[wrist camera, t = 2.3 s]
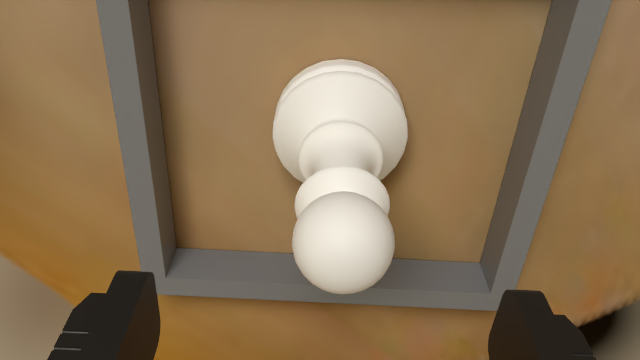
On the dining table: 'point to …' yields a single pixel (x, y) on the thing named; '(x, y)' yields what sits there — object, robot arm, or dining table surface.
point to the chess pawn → (341, 170)
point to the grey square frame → (403, 274)
